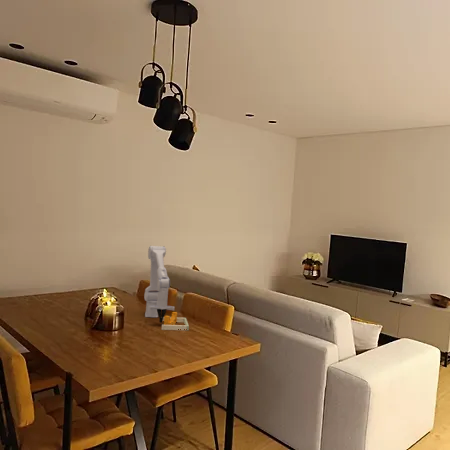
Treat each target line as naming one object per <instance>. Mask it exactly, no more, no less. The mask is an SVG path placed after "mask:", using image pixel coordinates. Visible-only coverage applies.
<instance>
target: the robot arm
mask: <svg viewBox="0 0 450 450" xmlns="http://www.w3.org/2000/svg"><path fill="white" fill-rule="evenodd" d="M166 252H167V248H166V247H165V245H164V246H163V245H162V246H161V245H160V246H159V245H149V247H148V251H147V258H148V259H149V260H150V272H149V273H150V277H149V285H148V286H147V287H146V288H145V289H144V295H143V296H144V301H146V304H145V306H146V307H145V312H144V318H159V320H158V321H159V323H162V324H163V322H162V320H163V317H164V316H166V313H167V311H175V306H174V305H173V306H172V305H168V295H169V289H170V287H171V279H170V278H169V275H168V271H167V268H166V267H165V262H164V261H165V260H164V258H165V257H166V254H167V253H166Z"/></svg>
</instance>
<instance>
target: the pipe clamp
mask: <svg viewBox="0 0 450 450" xmlns="http://www.w3.org/2000/svg"><path fill="white" fill-rule="evenodd" d="M170 317H171V318H170ZM177 318H178V312H177V311H173V312H171V315H164V322H163V325H176V324H177V323H178V322H177ZM176 322H177V323H176Z"/></svg>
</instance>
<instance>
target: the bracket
mask: <svg viewBox="0 0 450 450" xmlns="http://www.w3.org/2000/svg"><path fill="white" fill-rule="evenodd" d="M170 318H171V316H170ZM162 321H164V317H163V320H162ZM177 323H183V324H185V325H181V324H180V325H179V324H175V325H164V324H161V330H162V331H190V326H189V323H188V319H187V317H177ZM178 329H179V330H178ZM180 329H181V330H180ZM184 329H185V330H184ZM186 329H187V330H186Z"/></svg>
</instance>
